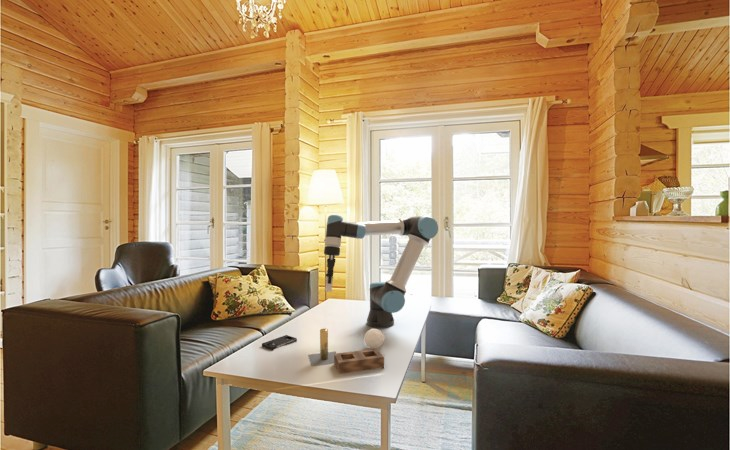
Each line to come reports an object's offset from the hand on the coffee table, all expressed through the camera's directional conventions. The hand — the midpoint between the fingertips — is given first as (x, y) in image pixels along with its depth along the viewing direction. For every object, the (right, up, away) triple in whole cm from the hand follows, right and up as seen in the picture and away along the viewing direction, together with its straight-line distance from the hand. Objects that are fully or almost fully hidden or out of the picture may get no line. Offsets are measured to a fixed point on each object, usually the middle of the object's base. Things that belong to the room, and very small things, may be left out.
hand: (328, 291), depth 160 cm
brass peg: (0, -24, -19) cm, 31 cm away
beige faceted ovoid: (+23, -24, -6) cm, 34 cm away
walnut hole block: (+15, -25, -26) cm, 39 cm away
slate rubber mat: (0, -25, -19) cm, 31 cm away
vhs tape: (-23, -25, 0) cm, 34 cm away
